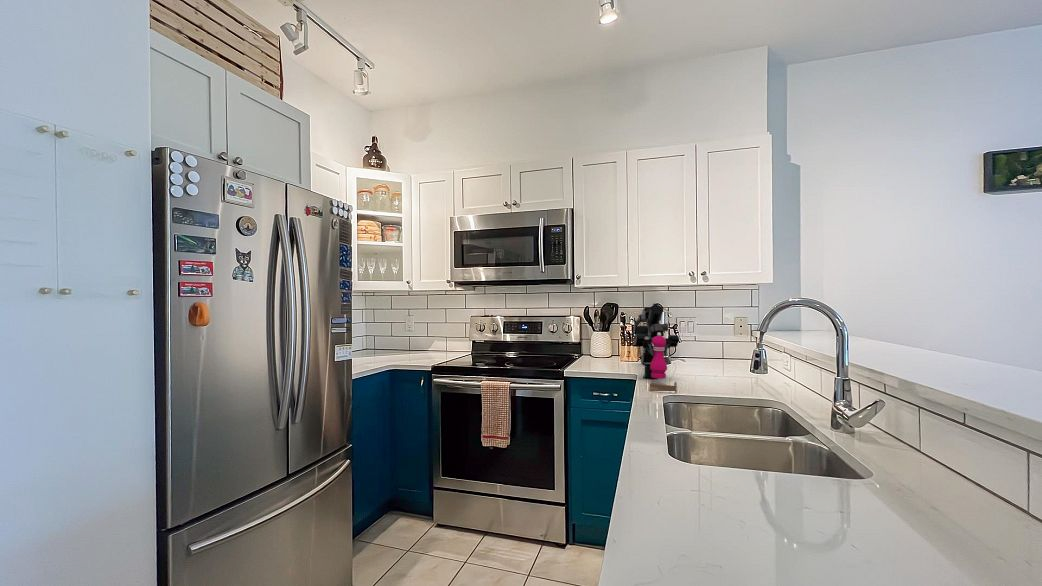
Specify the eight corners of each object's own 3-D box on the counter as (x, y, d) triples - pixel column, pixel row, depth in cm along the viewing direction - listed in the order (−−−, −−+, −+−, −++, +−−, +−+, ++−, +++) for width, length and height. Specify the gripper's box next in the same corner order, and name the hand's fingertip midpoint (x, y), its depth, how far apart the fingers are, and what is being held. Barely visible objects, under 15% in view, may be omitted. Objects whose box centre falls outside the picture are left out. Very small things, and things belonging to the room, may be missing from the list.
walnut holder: (651, 386, 191) (651, 380, 191) (676, 388, 187) (676, 381, 187) (649, 391, 182) (649, 384, 182) (675, 393, 178) (675, 386, 178)
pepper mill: (647, 377, 194) (648, 332, 193) (653, 374, 199) (654, 331, 199) (663, 379, 189) (664, 333, 189) (669, 377, 195) (670, 332, 194)
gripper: (636, 317, 198) (640, 344, 188) (678, 317, 197) (685, 345, 186) (632, 332, 206) (636, 359, 196) (673, 332, 205) (679, 360, 194)
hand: (659, 355), depth 193 cm, fingers closed on pepper mill, 5 cm apart
